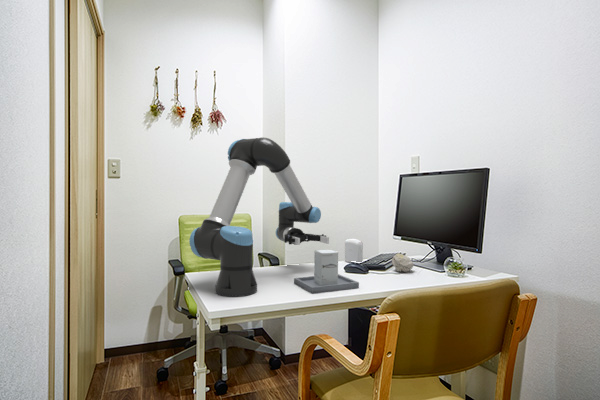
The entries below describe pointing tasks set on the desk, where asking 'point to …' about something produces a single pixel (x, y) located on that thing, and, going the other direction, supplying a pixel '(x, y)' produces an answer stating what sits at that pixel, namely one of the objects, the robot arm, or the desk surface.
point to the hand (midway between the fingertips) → (313, 241)
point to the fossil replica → (402, 263)
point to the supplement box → (326, 267)
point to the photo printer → (353, 250)
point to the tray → (313, 287)
